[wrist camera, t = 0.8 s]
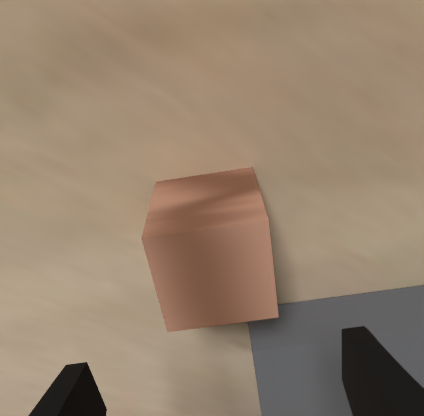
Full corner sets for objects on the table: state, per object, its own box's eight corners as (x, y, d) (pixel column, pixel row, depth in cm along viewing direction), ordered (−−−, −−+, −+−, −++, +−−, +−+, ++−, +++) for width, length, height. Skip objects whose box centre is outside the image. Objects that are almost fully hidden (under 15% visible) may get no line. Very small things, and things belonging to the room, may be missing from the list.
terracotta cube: (252, 166, 18) (268, 219, 14) (262, 248, 20) (278, 317, 16) (156, 181, 18) (141, 238, 14) (175, 260, 21) (167, 332, 16)
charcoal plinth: (468, 279, 21) (506, 318, 19) (443, 420, 27) (470, 467, 24) (246, 309, 22) (252, 351, 19) (266, 441, 27) (272, 488, 25)
